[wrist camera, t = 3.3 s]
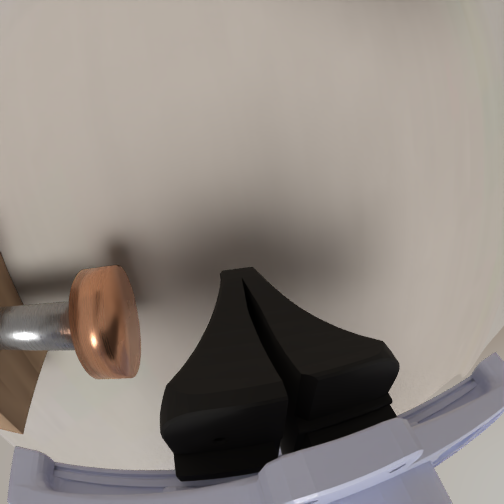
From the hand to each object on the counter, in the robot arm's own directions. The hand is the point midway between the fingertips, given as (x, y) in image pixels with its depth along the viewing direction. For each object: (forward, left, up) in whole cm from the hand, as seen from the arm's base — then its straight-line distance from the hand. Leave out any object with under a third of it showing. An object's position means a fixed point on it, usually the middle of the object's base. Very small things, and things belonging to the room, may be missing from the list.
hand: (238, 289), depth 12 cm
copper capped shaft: (+10, 0, -1) cm, 10 cm away
